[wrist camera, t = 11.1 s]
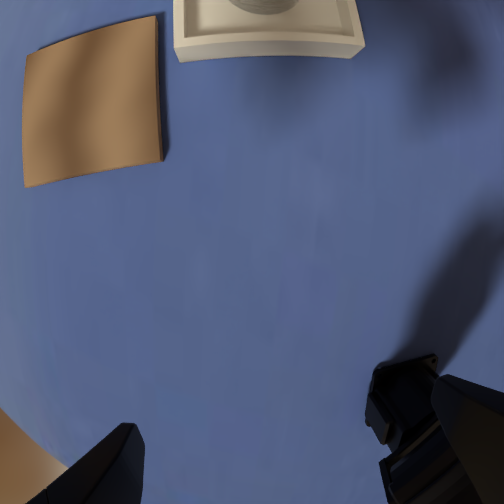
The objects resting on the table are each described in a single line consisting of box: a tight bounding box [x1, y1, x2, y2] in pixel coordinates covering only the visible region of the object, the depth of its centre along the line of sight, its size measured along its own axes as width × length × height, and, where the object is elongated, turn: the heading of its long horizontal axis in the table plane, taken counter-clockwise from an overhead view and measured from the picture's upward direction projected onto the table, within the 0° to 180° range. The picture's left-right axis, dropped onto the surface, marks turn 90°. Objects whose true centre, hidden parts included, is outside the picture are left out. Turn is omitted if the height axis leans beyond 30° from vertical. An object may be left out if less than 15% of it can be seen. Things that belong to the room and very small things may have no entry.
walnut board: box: [22, 16, 164, 188], centre depth 16 cm, size 10×10×1 cm
